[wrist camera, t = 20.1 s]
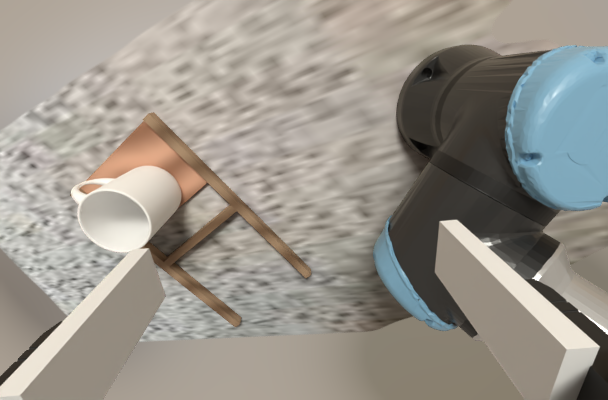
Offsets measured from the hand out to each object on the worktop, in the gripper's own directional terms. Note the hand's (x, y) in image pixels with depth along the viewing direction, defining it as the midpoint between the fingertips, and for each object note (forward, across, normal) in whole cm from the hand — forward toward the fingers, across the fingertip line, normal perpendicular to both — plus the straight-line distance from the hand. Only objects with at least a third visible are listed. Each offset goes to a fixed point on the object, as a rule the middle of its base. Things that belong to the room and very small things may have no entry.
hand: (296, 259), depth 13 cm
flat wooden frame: (+32, +18, +14) cm, 39 cm away
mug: (+31, +24, +5) cm, 40 cm away
